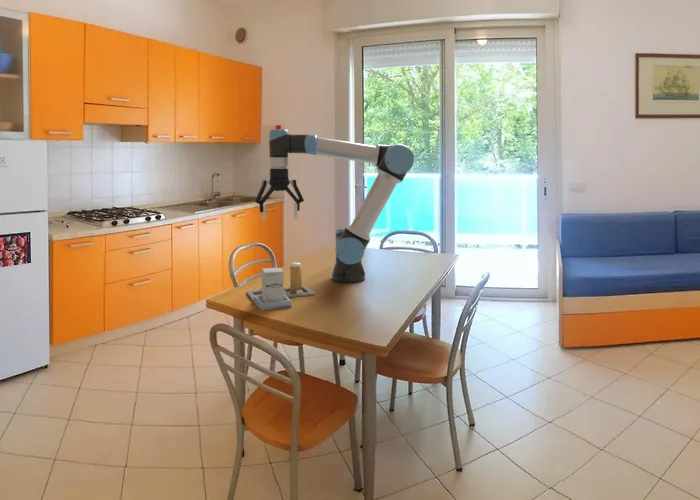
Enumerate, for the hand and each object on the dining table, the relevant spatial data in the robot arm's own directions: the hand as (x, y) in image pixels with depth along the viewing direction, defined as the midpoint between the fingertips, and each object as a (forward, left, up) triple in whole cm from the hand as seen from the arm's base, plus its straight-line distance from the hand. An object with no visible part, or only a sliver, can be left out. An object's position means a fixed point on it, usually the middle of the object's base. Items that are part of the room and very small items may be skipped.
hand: (280, 219), depth 215 cm
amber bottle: (-3, +12, -29) cm, 31 cm away
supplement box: (+10, +24, -28) cm, 38 cm away
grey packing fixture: (+4, +12, -29) cm, 31 cm away
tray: (+10, +25, -29) cm, 39 cm away
